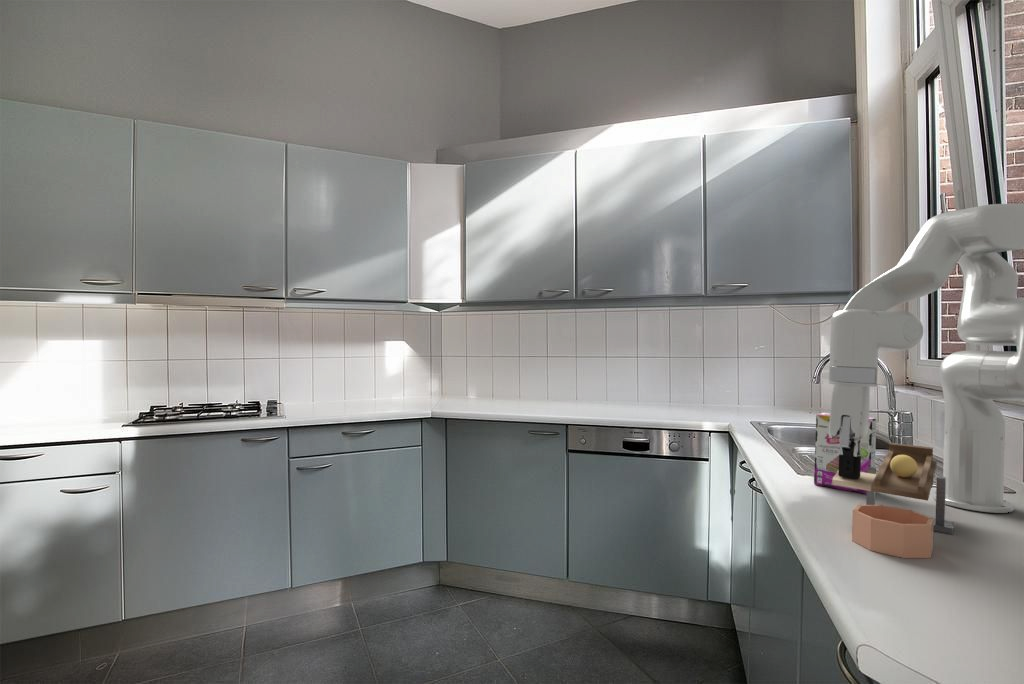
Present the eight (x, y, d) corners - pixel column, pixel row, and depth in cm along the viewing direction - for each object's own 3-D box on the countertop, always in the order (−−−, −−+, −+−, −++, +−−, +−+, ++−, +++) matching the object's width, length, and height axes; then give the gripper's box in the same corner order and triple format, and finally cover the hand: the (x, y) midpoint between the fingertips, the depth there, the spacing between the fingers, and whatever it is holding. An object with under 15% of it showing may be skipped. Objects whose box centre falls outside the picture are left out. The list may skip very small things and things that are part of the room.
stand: (861, 510, 107) (862, 464, 107) (953, 527, 97) (955, 477, 97) (857, 515, 103) (858, 468, 103) (952, 534, 94) (953, 482, 94)
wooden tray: (851, 470, 114) (851, 438, 113) (936, 483, 105) (936, 448, 104) (832, 502, 101) (832, 466, 100) (927, 520, 91) (928, 480, 90)
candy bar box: (813, 485, 125) (814, 413, 125) (819, 481, 129) (820, 412, 129) (870, 495, 117) (872, 419, 117) (875, 491, 121) (877, 417, 121)
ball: (888, 470, 97) (890, 478, 100) (915, 474, 95) (917, 482, 97) (890, 449, 99) (892, 458, 102) (917, 452, 96) (919, 462, 99)
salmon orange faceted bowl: (860, 529, 95) (860, 501, 95) (934, 545, 88) (935, 514, 88) (848, 545, 87) (849, 514, 87) (928, 563, 81) (929, 530, 81)
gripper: (837, 375, 108) (834, 467, 108) (820, 376, 97) (816, 480, 97) (883, 377, 103) (880, 474, 103) (870, 379, 92) (866, 488, 92)
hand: (849, 476), depth 100 cm, fingers closed
